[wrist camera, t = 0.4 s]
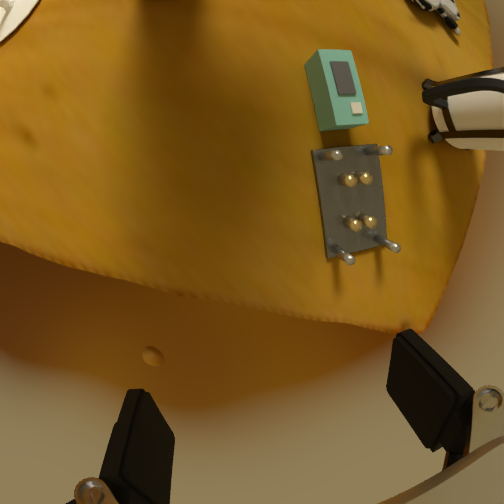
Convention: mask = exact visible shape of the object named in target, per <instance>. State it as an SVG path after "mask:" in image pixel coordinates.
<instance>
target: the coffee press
mask: <svg viewBox="0 0 504 504" xmlns="http://www.w3.org/2000/svg"><path fill="white" fill-rule="evenodd" d="M428 84H429V85H428ZM430 85H431V86H430ZM422 86H423V87H424V88H425V89H426V90H425V91H423V92H422V98H423V102H424V103H426V104H428V105H431V107H432V114H433V118H434V121H435V124H436V126H437V129H436V130H434V131H433V132H431V133H430V134H429V135H428V137H429V139H430V140H431V142H432V143H437V142H439V141H441V140H443V139H445V140H446V141H447V142H448V143H449V144H451V145H452V146H454V147H456V148H460V149H465V150H469V149H481V150H499V151H504V67H502V68H496V69H491V70H486V71H482V72H477V73H473V74H468V75H464V76H460V77H456V78H452V79H448V80H444V81H440V82H435V81H432V80H430V79H425V81H424V82H423V83H422ZM432 86H436V87H432Z"/></svg>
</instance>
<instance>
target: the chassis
mask: <svg viewBox="0 0 504 504" xmlns="http://www.w3.org/2000/svg"><path fill="white" fill-rule="evenodd" d="M392 152H393V149H392V147H391V146H377V144H369V145H357V146H346V147H337V148H328V149H319V150H312V151H311V155H312V160H313V166H314V172H315V178H316V184H317V191H318V198H319V204H320V212H321V219H322V227H323V235H324V243H325V252H326V257H327V258H332V257H336V256H338V257H340V258H341V259H342V260H343V261H345V262H346V263H347V264H349V265H353V264H354V263H355V257H354V256H352V255H351V254H349V253H353V252H357V251H361V250H365V249H369V248H373V247H377V246H381V245H382V246H384V247H386V248H388V249H389V250H391V251H393V252H395V253H398V252H399V251H400V249H401V246H400V245H399V244H397V243H395V242H393V241H390V240H388V239H387V234H386V218H385V205H384V194H383V185H382V176H381V168H380V161H379V155H391V154H392Z"/></svg>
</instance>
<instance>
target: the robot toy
mask: <svg viewBox="0 0 504 504" xmlns="http://www.w3.org/2000/svg"><path fill="white" fill-rule="evenodd" d="M411 1H413V2H414V3H415V4H417V5H418V6H420V7H421V8H422V9H424V10H426V11H433V10H436V11H437V12H438V13H439V15H440V16H441V17H442V18H444V19H445V22H446V24H447V25H448V26H449V27H450V29H454V31H455V33H456V34H457V35H460V30H459V28H457V26H458V25H457V24H456V22H455V21H456V20H459V19H460V15H459V14H460V13H459V11H458V10H457V8H456V6H457V5H456V3H455V1H454V0H411Z"/></svg>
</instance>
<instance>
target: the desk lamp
mask: <svg viewBox="0 0 504 504" xmlns="http://www.w3.org/2000/svg"><path fill="white" fill-rule="evenodd" d="M38 1H39V0H0V42H1V41H2V40H4V39H5V38H6V37H7V36H8V35H9V34H10V33H12V32H13V31H14V30H15V29H16V28H17V27H18V26H19V25H20V24H21V22H22V21H23V20H24V19H25V18H26V17H27V16H28V15H29V13H30V12H31V11H32V9H33V8H34V6H35V5H36V4H37V2H38Z"/></svg>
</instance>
